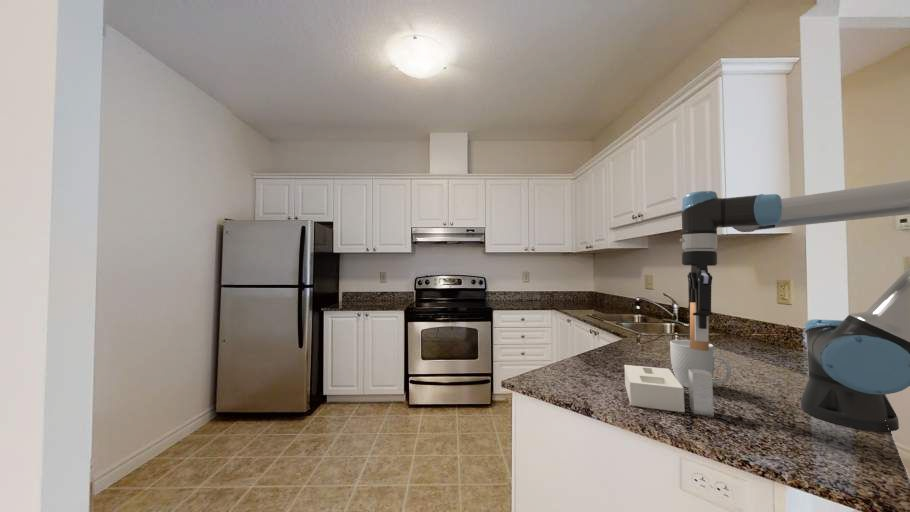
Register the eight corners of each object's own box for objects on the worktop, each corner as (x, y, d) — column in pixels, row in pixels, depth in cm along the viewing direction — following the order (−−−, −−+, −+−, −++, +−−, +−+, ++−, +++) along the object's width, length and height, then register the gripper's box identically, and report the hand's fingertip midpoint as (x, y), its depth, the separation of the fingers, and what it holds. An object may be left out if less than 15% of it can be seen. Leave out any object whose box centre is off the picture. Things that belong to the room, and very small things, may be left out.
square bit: (708, 410, 84) (706, 370, 85) (713, 416, 81) (711, 374, 81) (689, 407, 86) (688, 368, 86) (694, 413, 82) (692, 372, 83)
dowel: (706, 348, 88) (706, 302, 89) (710, 351, 85) (710, 304, 85) (688, 346, 90) (688, 302, 90) (692, 349, 86) (692, 303, 87)
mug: (734, 389, 99) (732, 344, 100) (729, 399, 91) (727, 351, 92) (676, 378, 110) (674, 338, 110) (667, 386, 102) (665, 343, 103)
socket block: (669, 389, 100) (668, 368, 100) (684, 412, 83) (683, 388, 83) (625, 384, 104) (624, 364, 105) (630, 405, 88) (629, 382, 88)
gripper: (676, 252, 97) (675, 332, 97) (689, 249, 82) (689, 344, 81) (707, 252, 94) (707, 334, 94) (727, 249, 79) (727, 348, 78)
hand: (699, 339), depth 87 cm, fingers closed on dowel, 4 cm apart
